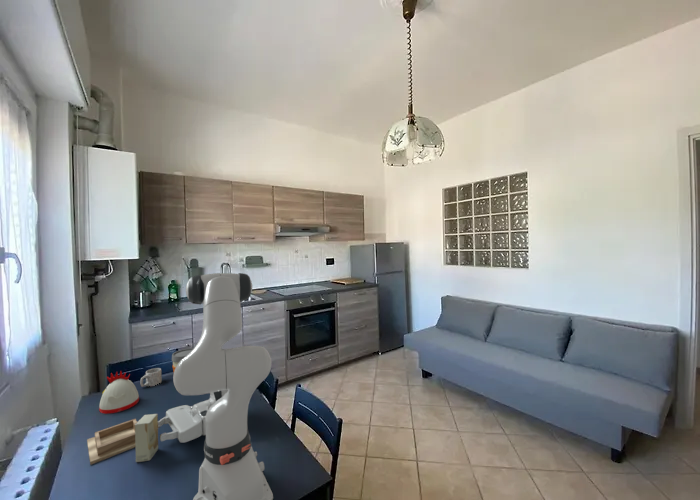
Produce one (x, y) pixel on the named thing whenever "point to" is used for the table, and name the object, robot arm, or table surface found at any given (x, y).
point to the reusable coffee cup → (179, 356)
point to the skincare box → (146, 437)
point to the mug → (152, 377)
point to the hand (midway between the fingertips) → (156, 432)
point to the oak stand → (111, 441)
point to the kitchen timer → (118, 394)
